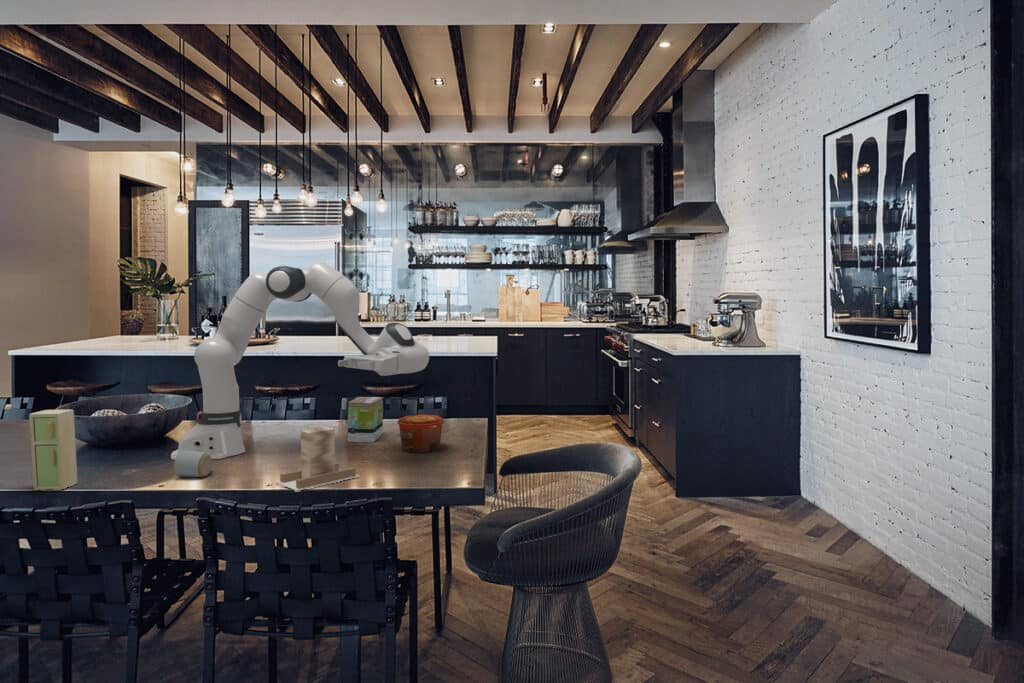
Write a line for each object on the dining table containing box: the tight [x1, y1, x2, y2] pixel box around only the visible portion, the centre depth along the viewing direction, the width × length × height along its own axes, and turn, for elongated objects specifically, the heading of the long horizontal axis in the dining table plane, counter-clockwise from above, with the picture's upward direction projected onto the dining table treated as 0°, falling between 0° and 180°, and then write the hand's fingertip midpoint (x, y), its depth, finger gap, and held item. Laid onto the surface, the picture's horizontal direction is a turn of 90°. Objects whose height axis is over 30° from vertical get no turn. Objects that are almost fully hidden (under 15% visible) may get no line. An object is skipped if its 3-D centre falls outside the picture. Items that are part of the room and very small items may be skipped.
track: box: [275, 461, 361, 493], centre depth 188 cm, size 20×11×3 cm, turn 137°
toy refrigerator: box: [28, 409, 78, 491], centre depth 180 cm, size 8×7×21 cm
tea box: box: [347, 396, 384, 443], centre depth 245 cm, size 15×10×15 cm
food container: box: [396, 414, 445, 454], centre depth 228 cm, size 16×16×11 cm
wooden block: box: [300, 426, 336, 478], centre depth 188 cm, size 8×4×14 cm, turn 137°
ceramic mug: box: [173, 450, 214, 478], centre depth 194 cm, size 11×8×8 cm
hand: (348, 364), depth 199 cm, fingers open, 8 cm apart
